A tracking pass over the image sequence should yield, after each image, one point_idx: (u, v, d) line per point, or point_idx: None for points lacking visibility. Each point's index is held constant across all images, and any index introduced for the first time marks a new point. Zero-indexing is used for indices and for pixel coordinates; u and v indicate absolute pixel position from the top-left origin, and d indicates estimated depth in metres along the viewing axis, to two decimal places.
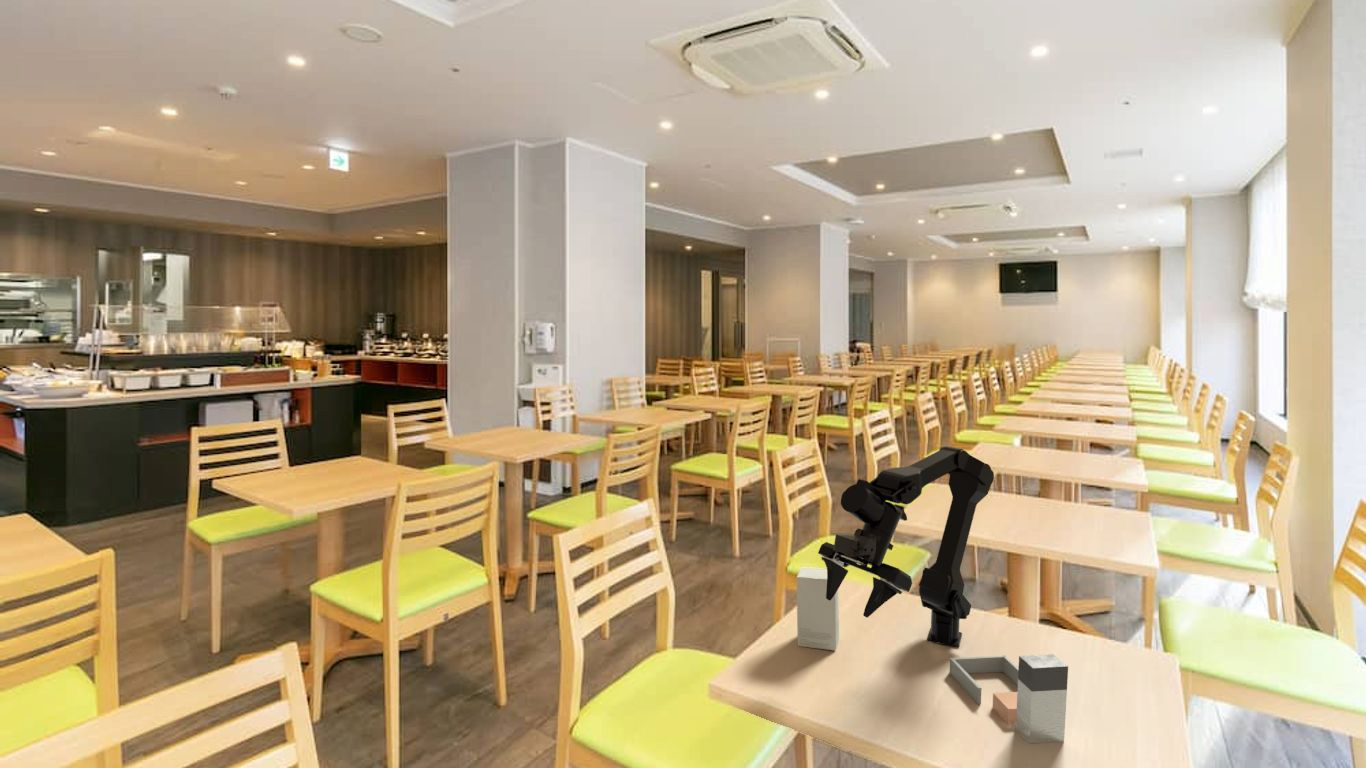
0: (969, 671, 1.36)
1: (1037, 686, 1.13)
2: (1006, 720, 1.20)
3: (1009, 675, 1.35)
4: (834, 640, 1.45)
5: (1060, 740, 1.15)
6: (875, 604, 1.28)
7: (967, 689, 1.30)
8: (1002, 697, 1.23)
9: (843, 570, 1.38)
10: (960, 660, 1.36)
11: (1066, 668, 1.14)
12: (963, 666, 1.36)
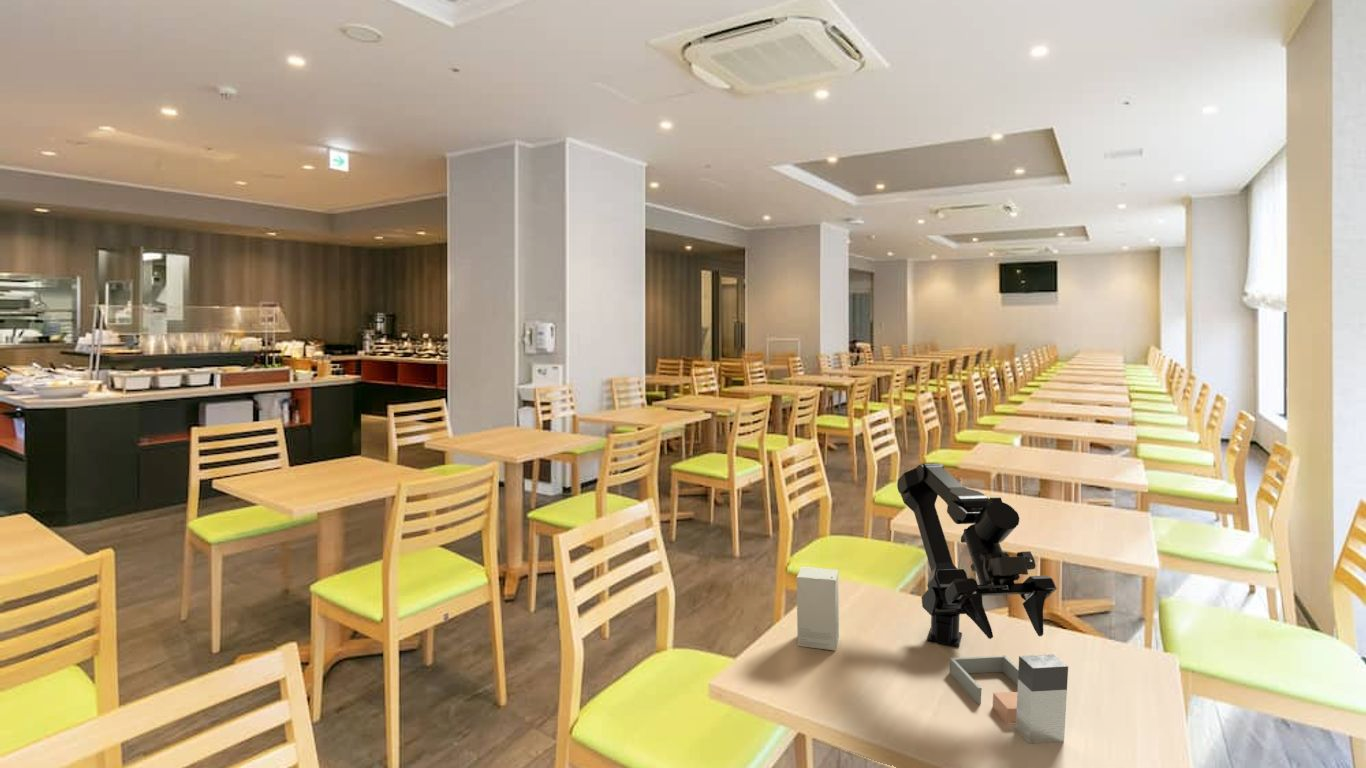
0: (969, 671, 1.36)
1: (1037, 686, 1.13)
2: (1005, 720, 1.20)
3: (1009, 675, 1.35)
4: (834, 640, 1.45)
5: (1060, 740, 1.15)
6: None
7: (967, 689, 1.30)
8: (1002, 696, 1.23)
9: None
10: (960, 660, 1.36)
11: (1066, 668, 1.14)
12: (963, 666, 1.36)
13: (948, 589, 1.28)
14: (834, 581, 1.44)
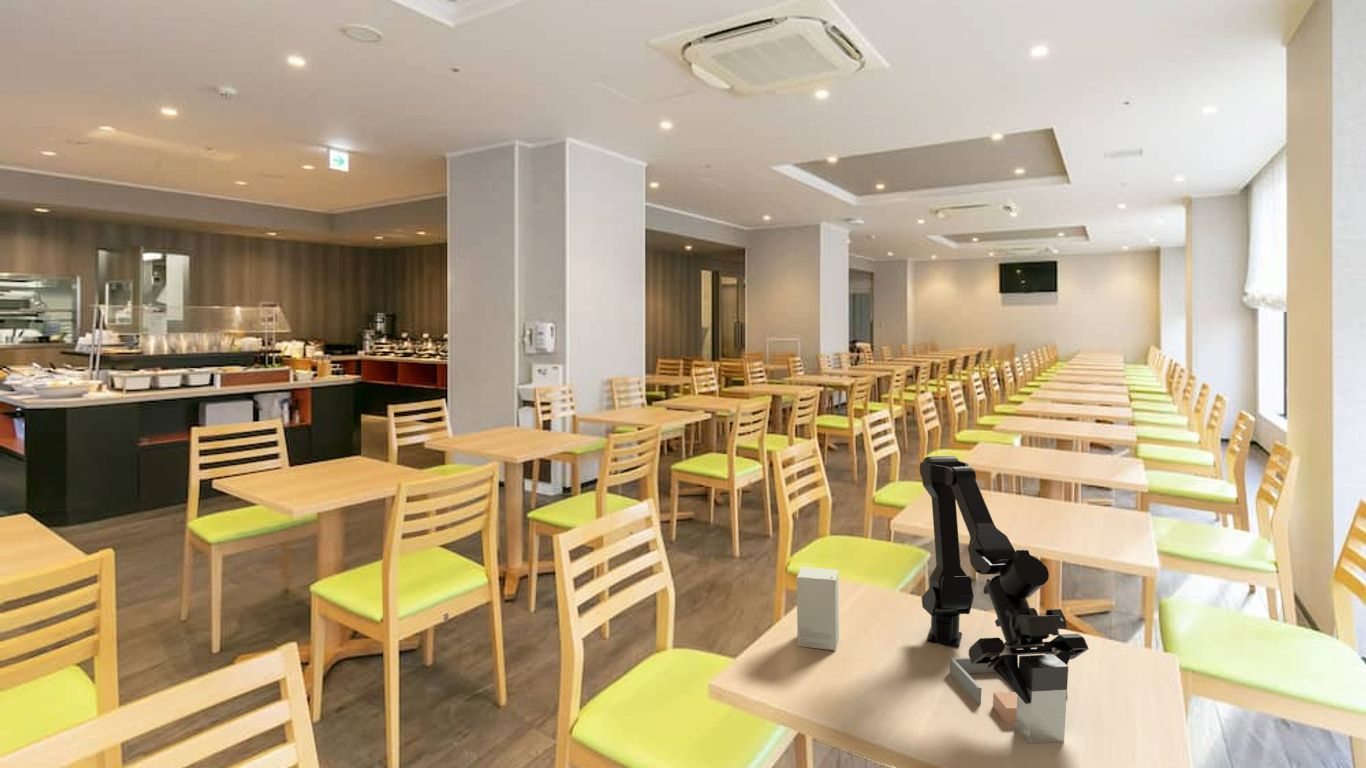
0: (969, 671, 1.36)
1: (1037, 686, 1.13)
2: (1005, 719, 1.20)
3: None
4: (834, 640, 1.45)
5: (1060, 740, 1.15)
6: None
7: (967, 689, 1.30)
8: (1002, 696, 1.23)
9: None
10: (960, 660, 1.36)
11: (1066, 668, 1.14)
12: (963, 666, 1.36)
13: (972, 648, 1.20)
14: (834, 581, 1.44)
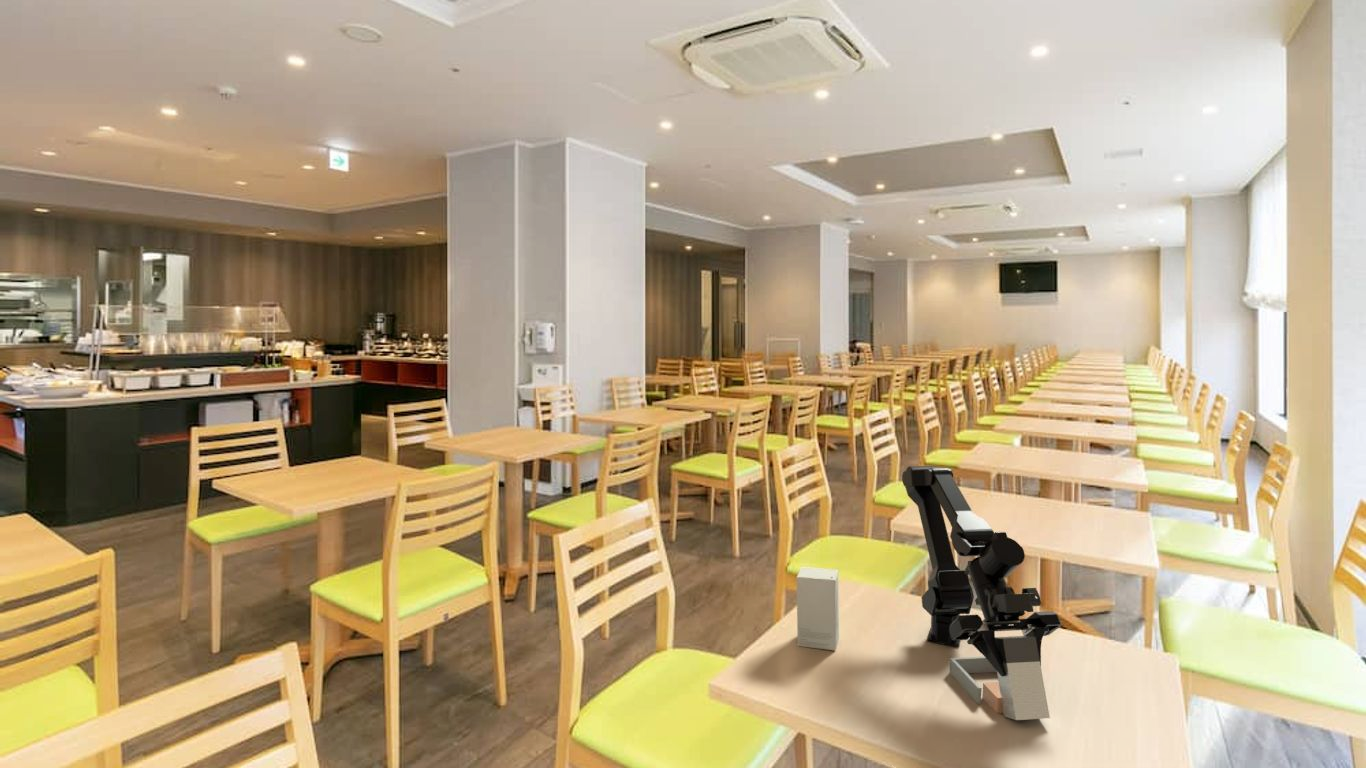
0: (969, 671, 1.36)
1: (1011, 657, 1.21)
2: (995, 709, 1.23)
3: None
4: (834, 640, 1.45)
5: (1045, 716, 1.19)
6: None
7: (967, 689, 1.30)
8: (992, 686, 1.26)
9: None
10: (960, 660, 1.36)
11: (1034, 639, 1.22)
12: (963, 666, 1.36)
13: (952, 625, 1.27)
14: (834, 581, 1.44)
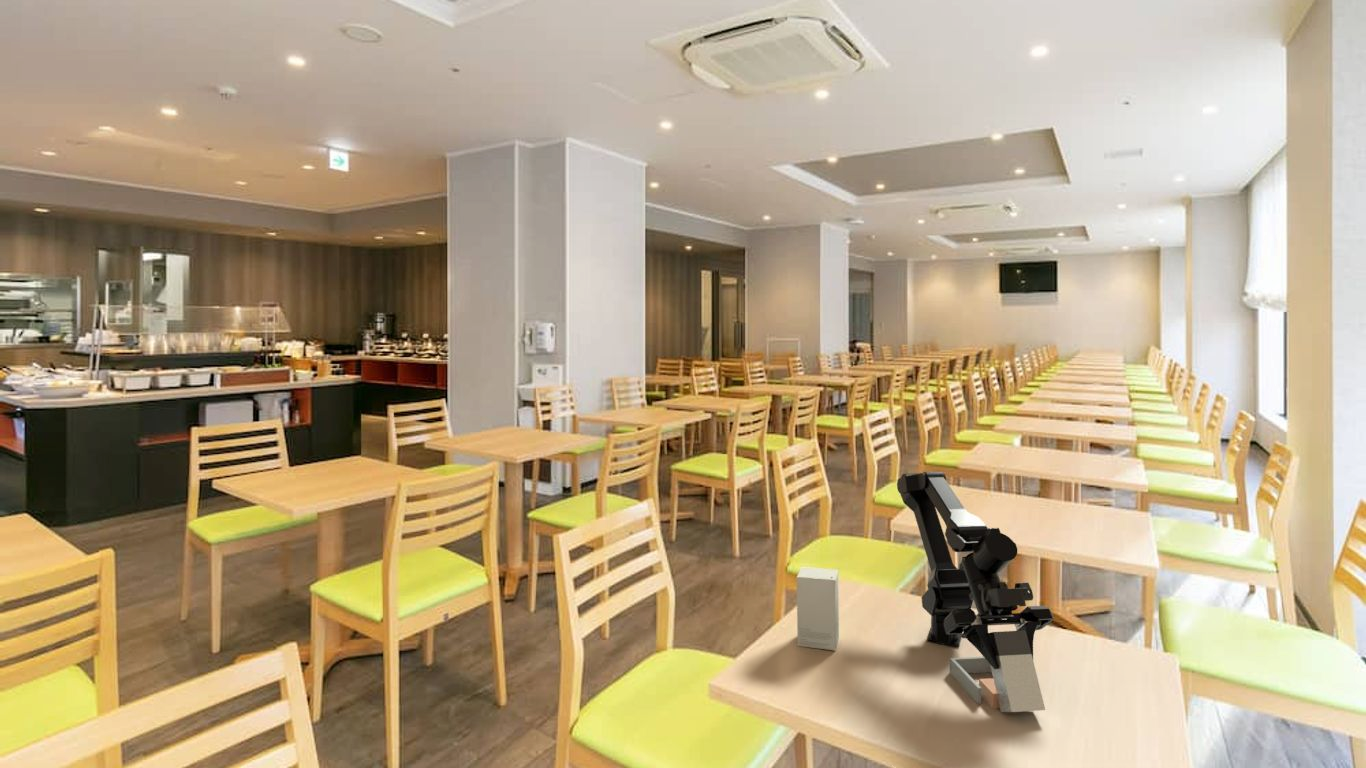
0: (969, 671, 1.36)
1: (1002, 650, 1.24)
2: (991, 704, 1.25)
3: None
4: (834, 640, 1.45)
5: (1041, 708, 1.20)
6: None
7: (967, 689, 1.30)
8: (988, 682, 1.28)
9: None
10: (960, 660, 1.36)
11: (1024, 632, 1.25)
12: (963, 666, 1.36)
13: (946, 619, 1.29)
14: (834, 581, 1.44)
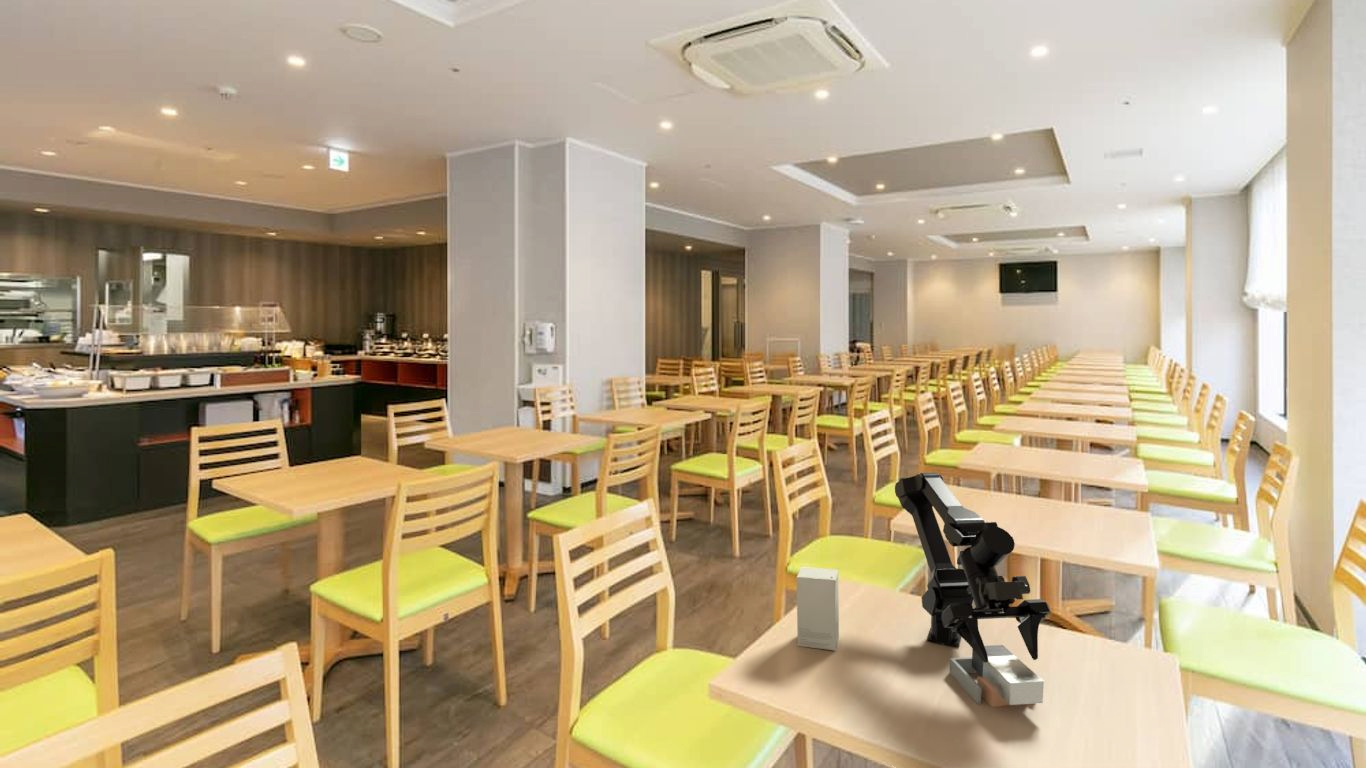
0: (969, 671, 1.36)
1: None
2: (990, 702, 1.25)
3: None
4: (834, 640, 1.45)
5: (1039, 680, 1.21)
6: None
7: (967, 689, 1.30)
8: None
9: None
10: (960, 660, 1.36)
11: (1002, 646, 1.33)
12: (963, 666, 1.36)
13: (944, 613, 1.30)
14: (834, 581, 1.44)
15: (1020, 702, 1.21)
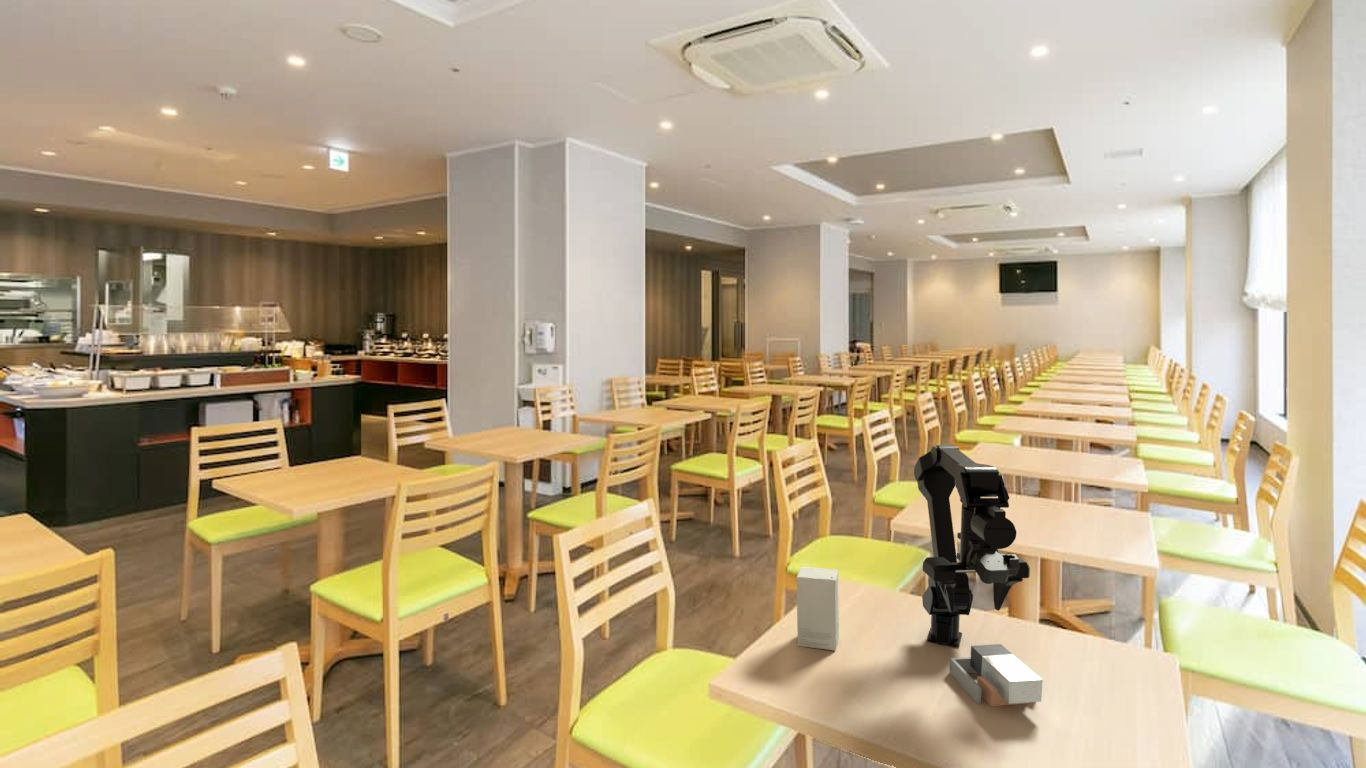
0: (969, 671, 1.36)
1: (984, 653, 1.30)
2: (990, 701, 1.26)
3: None
4: (834, 640, 1.45)
5: (1037, 679, 1.21)
6: None
7: (967, 689, 1.30)
8: None
9: None
10: (960, 660, 1.36)
11: (1000, 645, 1.33)
12: (963, 666, 1.36)
13: (927, 564, 1.33)
14: (834, 581, 1.44)
15: (1019, 701, 1.21)
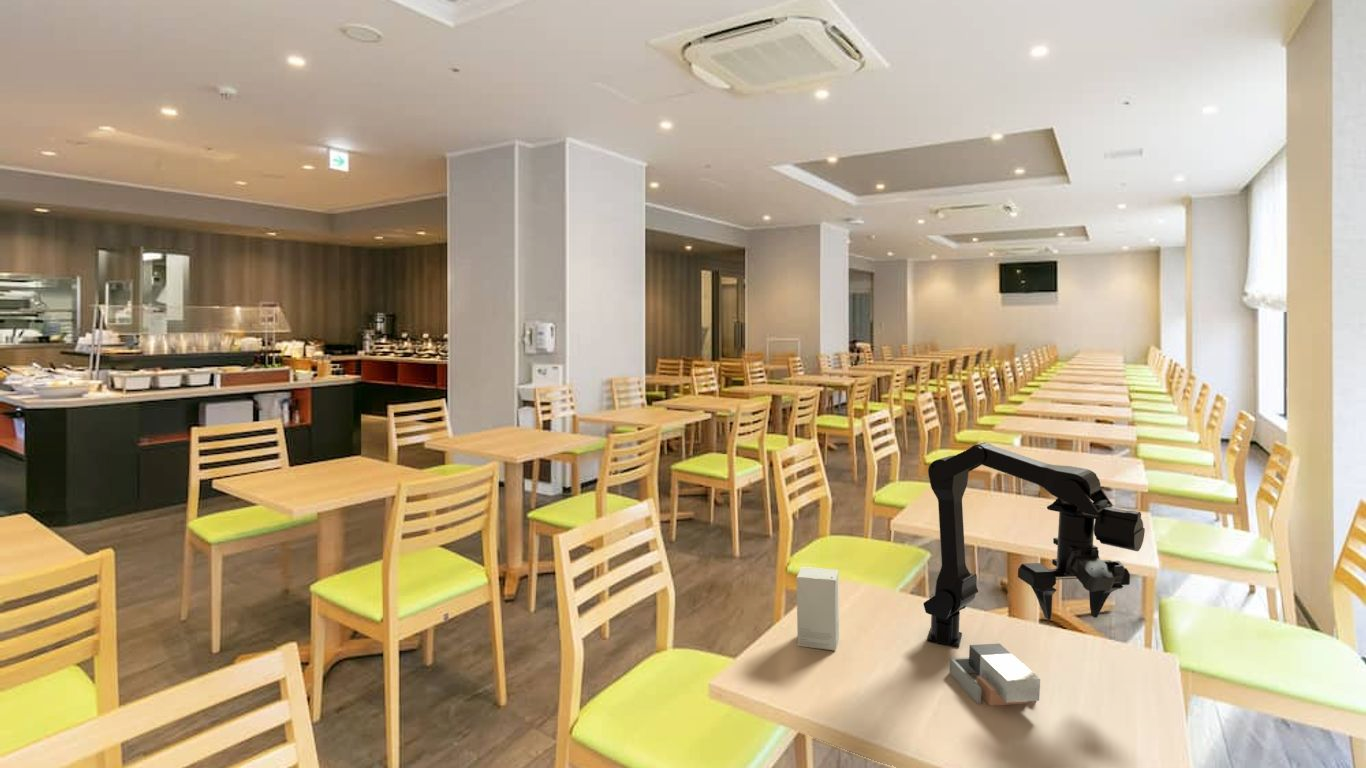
0: (969, 671, 1.36)
1: (982, 652, 1.30)
2: (989, 701, 1.26)
3: None
4: (834, 640, 1.45)
5: (1035, 678, 1.21)
6: None
7: (967, 689, 1.30)
8: None
9: None
10: (960, 660, 1.36)
11: (999, 644, 1.34)
12: (963, 666, 1.36)
13: (1024, 571, 1.30)
14: (834, 581, 1.44)
15: (1017, 700, 1.21)
